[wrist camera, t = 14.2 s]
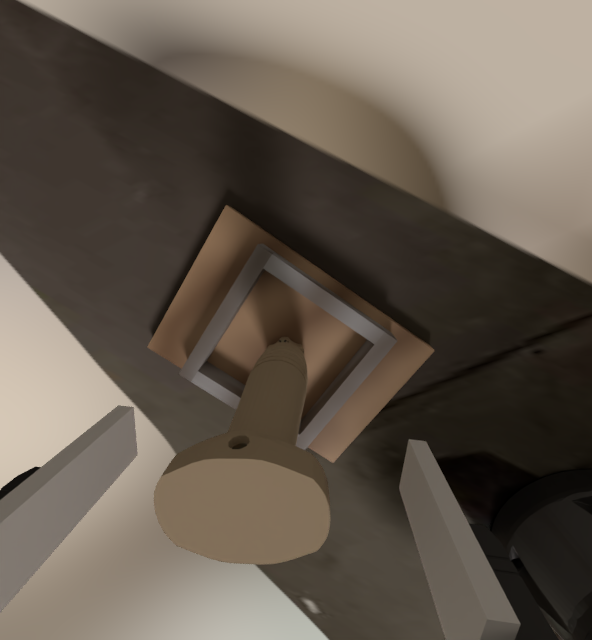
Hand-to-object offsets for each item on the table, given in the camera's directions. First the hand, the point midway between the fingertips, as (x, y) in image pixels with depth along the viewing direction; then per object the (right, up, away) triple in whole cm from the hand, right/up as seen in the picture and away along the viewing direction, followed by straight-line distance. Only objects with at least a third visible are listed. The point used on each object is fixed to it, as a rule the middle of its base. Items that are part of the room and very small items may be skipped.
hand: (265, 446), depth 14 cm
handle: (+1, +3, +11) cm, 12 cm away
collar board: (+1, +4, +12) cm, 13 cm away
